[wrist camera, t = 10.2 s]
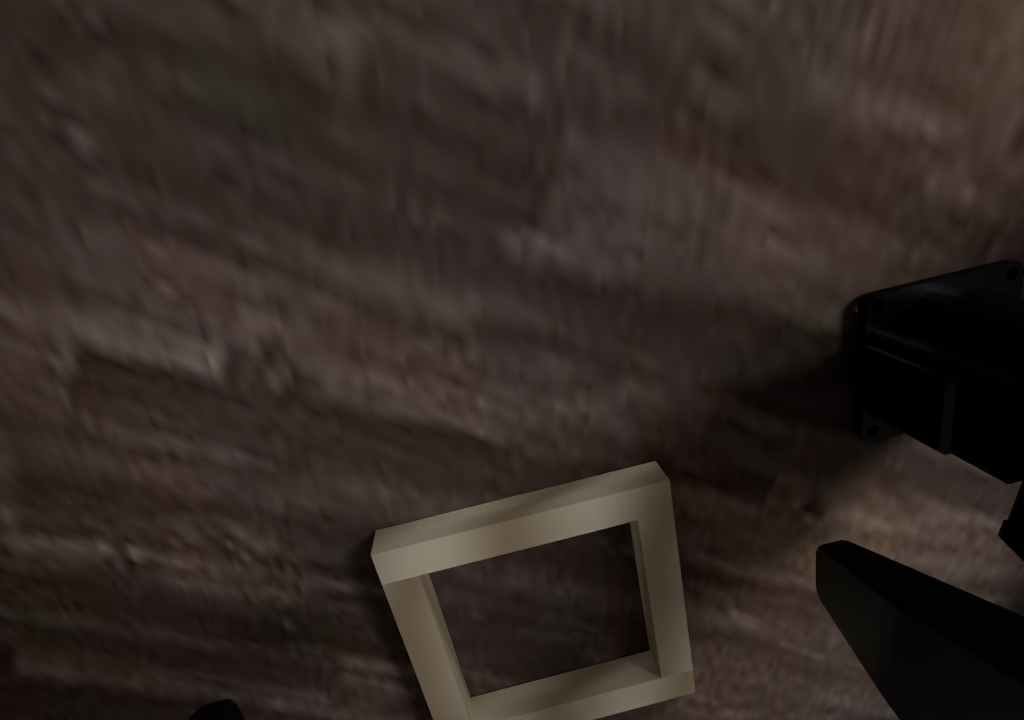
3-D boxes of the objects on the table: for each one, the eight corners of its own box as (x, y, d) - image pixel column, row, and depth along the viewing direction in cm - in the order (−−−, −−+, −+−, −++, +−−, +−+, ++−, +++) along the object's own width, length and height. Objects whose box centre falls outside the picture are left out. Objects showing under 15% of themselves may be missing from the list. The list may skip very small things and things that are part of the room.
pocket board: (655, 461, 22) (669, 480, 20) (682, 664, 26) (695, 692, 25) (375, 530, 21) (370, 555, 20) (447, 726, 25) (448, 758, 24)
